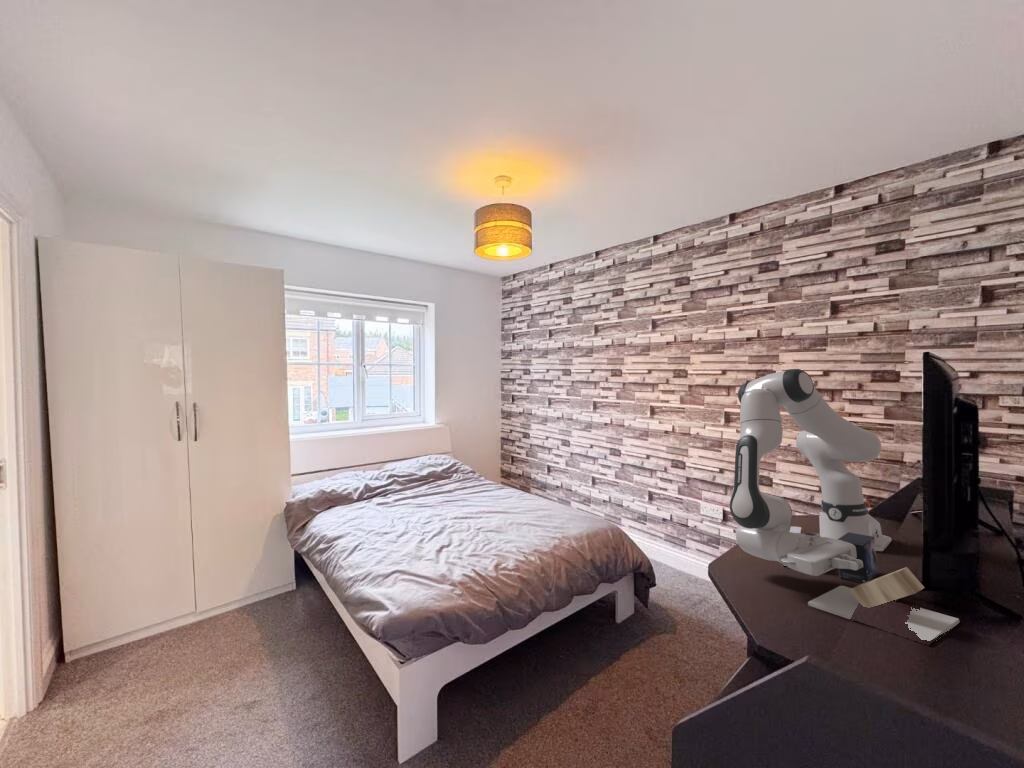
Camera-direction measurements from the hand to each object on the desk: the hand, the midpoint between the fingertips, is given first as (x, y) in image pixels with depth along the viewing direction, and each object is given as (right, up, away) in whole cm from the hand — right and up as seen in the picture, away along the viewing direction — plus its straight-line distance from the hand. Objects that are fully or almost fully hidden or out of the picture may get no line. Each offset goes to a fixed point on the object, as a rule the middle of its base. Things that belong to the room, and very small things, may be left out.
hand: (860, 565), depth 99 cm
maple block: (0, -7, 0) cm, 7 cm away
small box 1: (+4, -12, +28) cm, 31 cm away
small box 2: (+14, -11, +17) cm, 24 cm away
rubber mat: (+2, -10, -3) cm, 10 cm away
